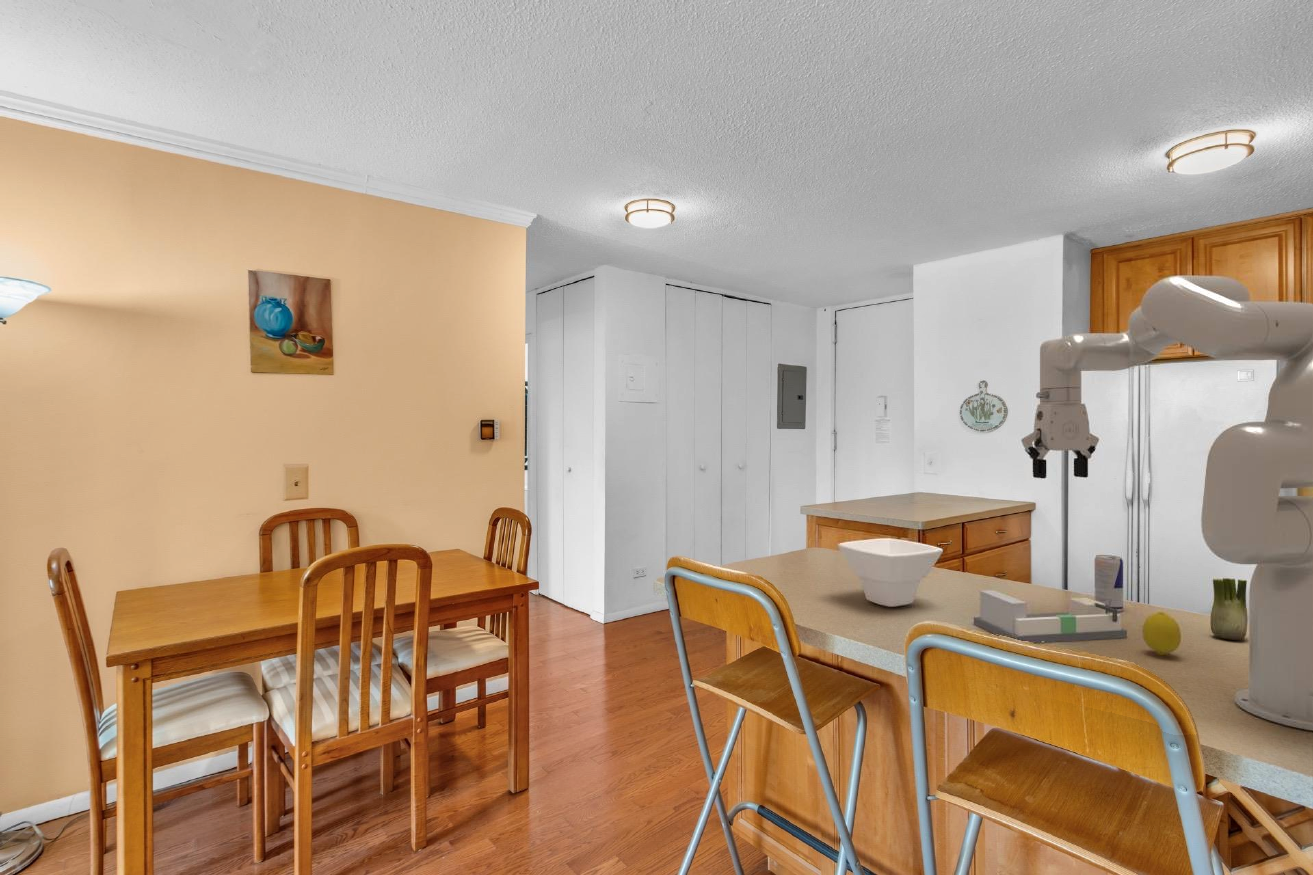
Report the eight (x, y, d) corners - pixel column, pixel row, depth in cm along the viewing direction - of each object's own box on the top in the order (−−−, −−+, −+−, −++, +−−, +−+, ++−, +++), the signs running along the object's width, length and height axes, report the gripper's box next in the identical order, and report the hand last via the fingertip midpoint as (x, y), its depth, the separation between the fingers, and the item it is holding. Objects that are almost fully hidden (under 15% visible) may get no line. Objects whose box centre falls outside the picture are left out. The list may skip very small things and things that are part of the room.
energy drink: (1128, 610, 145) (1128, 558, 145) (1113, 613, 143) (1113, 560, 143) (1104, 604, 150) (1104, 553, 150) (1089, 607, 148) (1089, 555, 148)
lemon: (1165, 662, 114) (1165, 617, 114) (1135, 651, 119) (1134, 608, 119) (1188, 658, 115) (1188, 614, 115) (1157, 648, 121) (1157, 606, 120)
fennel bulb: (1246, 637, 126) (1246, 577, 126) (1251, 645, 122) (1251, 582, 122) (1207, 633, 129) (1207, 573, 129) (1211, 639, 125) (1211, 578, 125)
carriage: (1127, 630, 126) (1127, 609, 126) (1106, 631, 126) (1106, 610, 125) (1088, 616, 136) (1088, 596, 136) (1069, 617, 135) (1069, 597, 135)
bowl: (831, 599, 157) (830, 543, 157) (890, 590, 165) (890, 536, 165) (888, 620, 140) (887, 556, 140) (951, 608, 148) (950, 548, 148)
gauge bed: (1126, 637, 127) (1126, 600, 127) (1015, 644, 124) (1015, 605, 124) (1075, 618, 140) (1075, 584, 140) (973, 624, 137) (973, 589, 137)
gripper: (1035, 396, 132) (1035, 479, 132) (1111, 396, 134) (1111, 478, 135) (1011, 398, 140) (1011, 476, 140) (1083, 398, 142) (1083, 475, 142)
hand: (1060, 477), depth 137 cm, fingers open, 9 cm apart
